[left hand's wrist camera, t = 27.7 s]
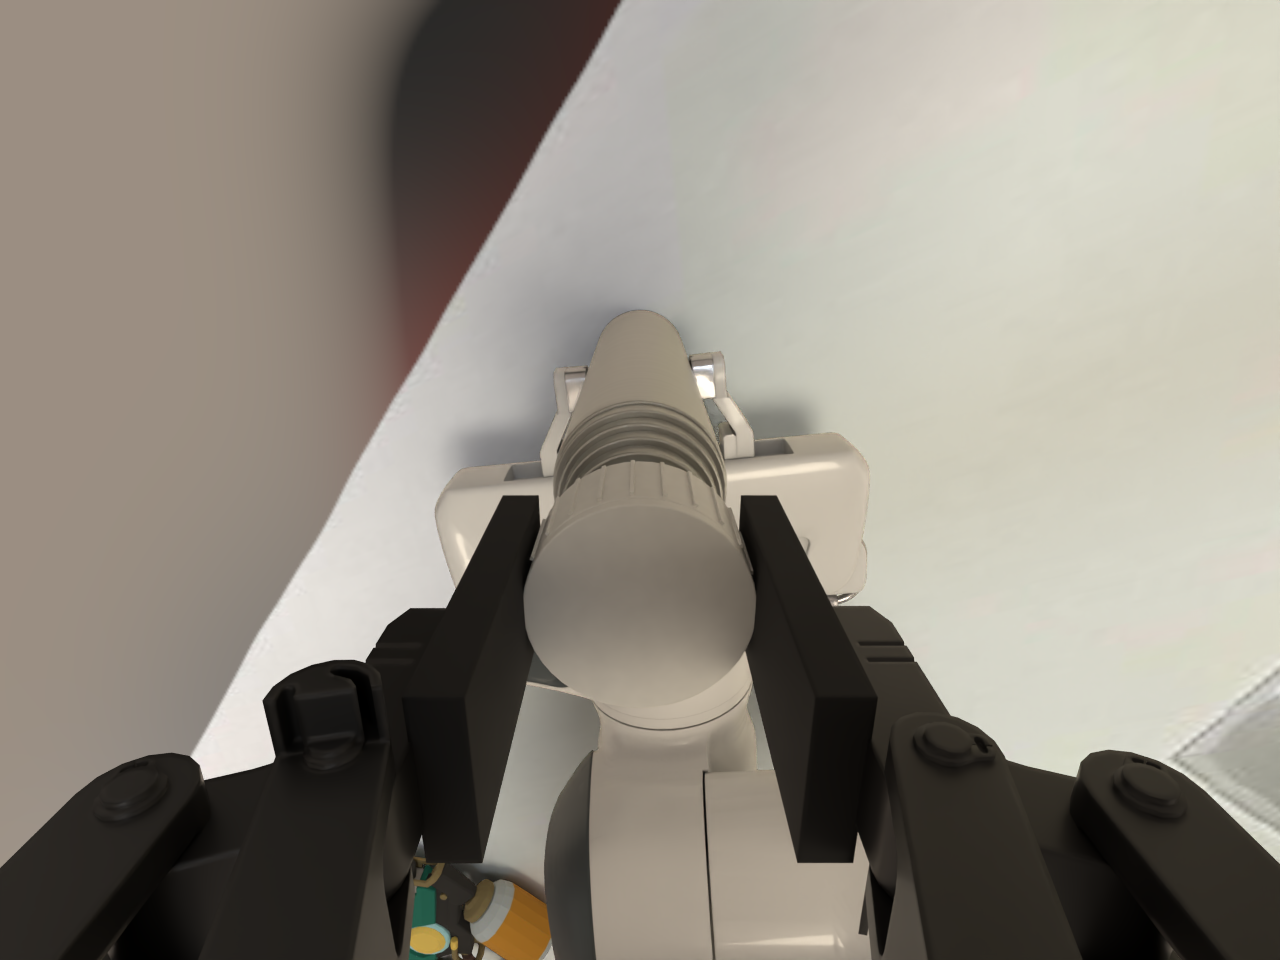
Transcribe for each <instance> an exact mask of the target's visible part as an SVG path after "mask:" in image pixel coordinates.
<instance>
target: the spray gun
mask: <svg viewBox="0 0 1280 960" xmlns="http://www.w3.org/2000/svg"><path fill="white" fill-rule="evenodd" d="M423 864H427V865H426V866H425V867H424V869H423ZM430 865H434V866H435V865H436V866H435V867H434V868H433V869H432V867H431V866H430ZM411 868H412V875H413V881H414V888H415V899H414V909H413V920H412V930H411V940H410V950H409V960H439V959H438V957H442V956H445V955H449V954H452V959H453V960H482V957H483V955H484V950H485V946H486V947H488V948H489V949H491V950H492V951H494V952H495V953H497V954H498V955H500V956H501V957H503V958H504V959H506V960H542V959H543V958H544V957H545V956H546V954H547V953H548V951H549V950H550V947H551V945H552V940H551V934H550V928H549V921H548V913H547V905H546V904H545V903H544V902H542V901H541V900H539V899H537V898H536V897H534V896H533V895H531V894H530V893H528V892H527V891H525V890H523V889H522V888H520V887H519V886H517V885H516V884H514V883H512V882H509V881H506V880H502V879H500V880H497V881H495V882H492V881H490V880H488V879H484V880H482V881H481V882H480V883H479V884H478V885H475V884H474V883H473V882H472V881H471V880H469V879H468V878H467V877H465V876H464V875H463V874H462V873H460V872H459V871H458V870H456V869H455V868H454V867H452V866H451V865H450V864H448V863H426V858H421V857H414V858H413V861H412V863H411ZM463 904H465V908H464V912H463V910H462V905H463ZM474 943H478V944H479V949H478V953H477V956H476V958H475V957H474V956H473V955H472V950H473V946H474ZM458 953H459V954H461V955H462V957H463V959H461V958H460V957H459V956H458Z"/></svg>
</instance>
